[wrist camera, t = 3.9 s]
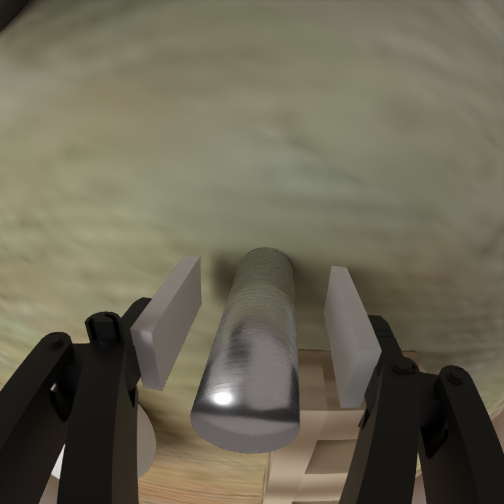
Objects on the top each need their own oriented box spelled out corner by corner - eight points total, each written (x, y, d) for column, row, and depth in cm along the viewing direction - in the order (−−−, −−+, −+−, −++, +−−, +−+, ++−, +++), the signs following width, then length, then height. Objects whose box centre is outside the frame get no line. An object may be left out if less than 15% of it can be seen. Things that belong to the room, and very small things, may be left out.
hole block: (284, 348, 18) (283, 409, 14) (415, 351, 18) (440, 403, 13) (262, 484, 26) (258, 523, 21) (344, 485, 25) (347, 522, 20)
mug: (168, 425, 23) (141, 499, 15) (111, 442, 26) (84, 497, 18) (63, 327, 20) (4, 392, 13) (27, 364, 23) (-15, 414, 15)
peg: (238, 245, 16) (185, 383, 7) (295, 250, 16) (308, 395, 7) (237, 295, 17) (195, 446, 8) (290, 300, 17) (292, 456, 8)
